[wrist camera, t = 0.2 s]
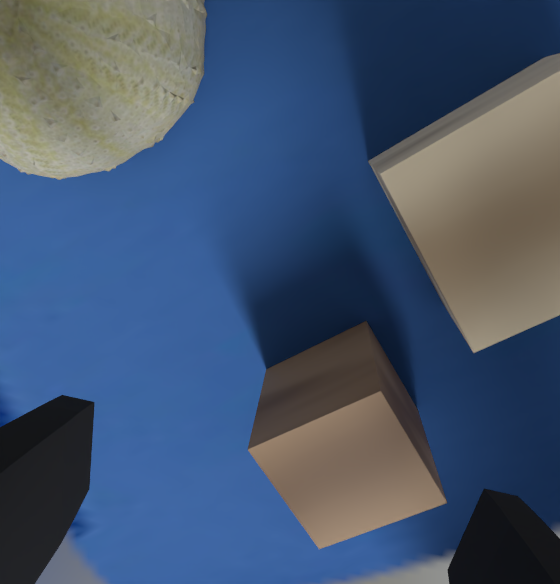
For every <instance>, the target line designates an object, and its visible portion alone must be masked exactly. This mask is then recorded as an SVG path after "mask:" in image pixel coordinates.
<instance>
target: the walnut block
mask: <svg viewBox="0 0 560 584" xmlns="http://www.w3.org/2000/svg"><path fill="white" fill-rule="evenodd" d="M248 451H249V452H250V453H251V455H252V456H253V458H254V459H255V460H256V462H257V463H258V465H259V466H260V467H261V469H262V470H263V472H264V473H265V474H266V476H267V477H268V479H269V480H270V481H271V483H272V484H273V486H274V487H275V488H276V490H277V491H278V492H279V494H280V495H281V497H282V498H283V499H284V501H285V502H286V504H287V505H288V506H289V508H290V509H291V511H292V512H293V513H294V515H295V516H296V518H297V519H298V520H299V522H300V523H301V525H302V526H303V527H304V529H305V530H306V531H307V533H308V534H309V536H310V537H311V538H312V540H313V541H314V543H315V544H316V545H317V547H318V548H319V549H321V548H324V547H327V546H330V545H332V544H335V543H338V542H341V541H343V540H346V539H349V538H352V537H355V536H357V535H360V534H363V533H366V532H368V531H371V530H374V529H377V528H379V527H382V526H385V525H388V524H391V523H393V522H396V521H399V520H402V519H404V518H407V517H410V516H413V515H415V514H418V513H421V512H424V511H427V510H429V509H432V508H435V507H438V506H440V505H443V504H446V503H447V501H446V497H445V494H444V491H443V488H442V485H441V482H440V479H439V475H438V472H437V469H436V466H435V463H434V460H433V456H432V453H431V450H430V447H429V444H428V441H427V438H426V434H425V431H424V428H423V425H422V422H421V419H420V415H419V412H418V409H417V408H416V406H415V404H414V402H413V401H412V399H411V397H410V396H409V394H408V392H407V390H406V389H405V387H404V385H403V383H402V382H401V380H400V378H399V376H398V375H397V373H396V371H395V369H394V368H393V366H392V364H391V363H390V361H389V359H388V357H387V356H386V354H385V352H384V350H383V349H382V347H381V345H380V343H379V342H378V340H377V338H376V336H375V335H374V333H373V331H372V330H371V328H370V326H369V324H368V323H367V321H365V322H363V323H361V324H359V325H357V326H355V327H353V328H350V329H348V330H346V331H344V332H342V333H340V334H338V335H336V336H334V337H332V338H330V339H328V340H326V341H324V342H322V343H320V344H318V345H315V346H313V347H311V348H309V349H307V350H305V351H303V352H301V353H299V354H297V355H295V356H293V357H291V358H289V359H287V360H285V361H283V362H281V363H278V364H276V365H274V366H272V367H270V368H268V369H266V373H265V378H264V382H263V386H262V390H261V395H260V399H259V403H258V408H257V412H256V416H255V420H254V425H253V429H252V433H251V438H250V442H249V446H248Z"/></svg>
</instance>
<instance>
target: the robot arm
mask: <svg viewBox="0 0 560 584" xmlns="http://www.w3.org/2000/svg"><path fill="white" fill-rule="evenodd" d="M93 418H94V402H91V401H87V400H82V399H78V398H73V397H69V396H64V395H61V396H59V397H57V398H55V399H53V400H51V401H49V402H47V403H45V404H43V405H41V406H39V407H38V408H36V409H34V410H32V411H30V412H28V413H26V414H24V415H23V416H21V417H19V418H17V419H15V420H13V421H11V422H9V423H8V424H6V425H4V426H2V427H0V584H35V582H36V581H37V579H38V578H39V576H40V575H41V573H42V572H43V570H44V569H45V567H46V566H47V564H48V563H49V561H50V560H51V558H52V557H53V555H54V553H55V552H56V550H57V549H58V547H59V546H60V544H61V543H62V541H63V539H64V537H65V535H66V533H67V531H68V529H69V528H70V526H71V524H72V522H73V520H74V518H75V516H76V514H77V512H78V510H79V508H80V506H81V504H82V502H83V500H84V498H85V496H86V494H87V492H88V490H89V484H90V468H91V451H92V434H93ZM448 576H449V584H560V539H559V537H558V536H557V535H556V534H555V533H554V532H553V531H552V530H551V529H550V528H549V527H548V526H547V525H546V524H545V523H544V522H543V521H542V520H541V519H540V518H539V517H538V516H537V515H536V513H535V512H534V511H533V510H532V509H531V508H530V507H529V506H528V505H526V504H525V503H524V502H523V501H522V500H521V499H520V498H519V497H518V496H515V495H510V494H506V493H501V492H497V491H492V490H488V489H484V490H483V492H482V494H481V496H480V499H479V501H478V503H477V505H476V508H475V510H474V512H473V514H472V516H471V519H470V521H469V523H468V525H467V528H466V530H465V532H464V534H463V537H462V539H461V541H460V543H459V546H458V548H457V550H456V552H455V554H454V557H453V559H452V561H451V563H450V566H449V568H448Z"/></svg>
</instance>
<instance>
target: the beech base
mask: <svg viewBox="0 0 560 584" xmlns="http://www.w3.org/2000/svg"><path fill="white" fill-rule="evenodd" d="M368 162H369V164H370V166H371V167H372V169H373V171H374V173H375V175H376V177H377V179H378V181H379V183H380V185H381V186H382V188H383V190H384V192H385V194H386V196H387V198H388V200H389V202H390V204H391V206H392V207H393V209H394V211H395V213H396V215H397V217H398V219H399V221H400V223H401V225H402V226H403V228H404V230H405V232H406V234H407V236H408V238H409V240H410V242H411V244H412V245H413V247H414V249H415V251H416V253H417V255H418V257H419V259H420V261H421V263H422V264H423V266H424V268H425V270H426V272H427V274H428V276H429V278H430V280H431V282H432V284H433V285H434V287H435V289H436V291H437V293H438V295H439V297H440V299H441V301H442V303H443V304H444V306H445V308H446V309H447V311H448V313H449V314H450V316H451V317H452V319H453V321H454V322H455V324H456V325H457V327H458V329H459V330H460V332H461V333H462V335H463V337H464V338H465V340H466V341H467V343H468V345H469V346H470V348H471V350H472V351H473V353H475V352H477V351H480V350H482V349H484V348H487V347H489V346H491V345H493V344H496V343H498V342H500V341H502V340H505V339H507V338H509V337H511V336H514V335H516V334H518V333H520V332H523V331H525V330H527V329H529V328H532V327H534V326H536V325H538V324H541V323H543V322H545V321H547V320H550V319H552V318H554V317H557V316H559V315H560V53H559V54H555V55H551V56H547V57H544V58H542V59H541V60H539V61H537V62H536V63H534V64H532V65H530V66H529V67H527V68H525V69H524V70H522V71H520V72H519V73H517V74H515V75H513V76H512V77H510V78H508V79H507V80H505V81H503V82H502V83H500V84H498V85H496V86H495V87H493V88H491V89H490V90H488V91H486V92H485V93H483V94H481V95H479V96H478V97H476V98H474V99H473V100H471V101H469V102H468V103H466V104H464V105H462V106H461V107H459V108H457V109H456V110H454V111H452V112H451V113H449V114H447V115H445V116H444V117H442V118H440V119H439V120H437V121H435V122H433V123H432V124H430V125H428V126H427V127H425V128H423V129H422V130H420V131H418V132H416V133H415V134H413V135H411V136H410V137H408V138H406V139H405V140H403V141H401V142H399V143H398V144H396V145H394V146H393V147H391V148H389V149H388V150H386V151H384V152H382V153H381V154H379V155H377V156H376V157H374V158H372V159H371V160H369V161H368Z"/></svg>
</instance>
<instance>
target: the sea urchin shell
mask: <svg viewBox="0 0 560 584" xmlns="http://www.w3.org/2000/svg"><path fill="white" fill-rule="evenodd" d="M204 1H205V0H0V159H2V160H3V161H4V162H6V163H8V164H10V165H12V166H14V167H16V168H18V170H19V171H20V172H26V173H27V174H35V175H39V176H45V177H51V178H57V179H58V180H60V179H62V178H65V179H66V177H77V176H81V175H85V174H89V173H93V172H100V171H103V170H106V171H110V170H111V169H112V168H116V166H117V165H119V164H122V163H124V162H125V161H127V160H128V159H130V158H131V157H132V156H134V155H135V154H137V153H138V152H140V151H142V150H143V149H146V148H149V147H153V145H154V143H155V142H159V141H160V140H163V137H164V135H165V134H166V133H167V132H168V131H169V130H170V128H171V127H172V126H173V125H174V124H175V123H176V122H177V120H178V119H179V118H180V117H181V116H182V115H183V113H184V112H185V111H186V110H187V109H188V107H189V106H190V104H192V103H194V100H193V99H194V97H195V94H196V92H197V89H198V87H199V84H200V81H201V79H202V77H203V75H204V40H205V31H206V24H205V19H206V17H207V13H206V9H205V7H204Z"/></svg>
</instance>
